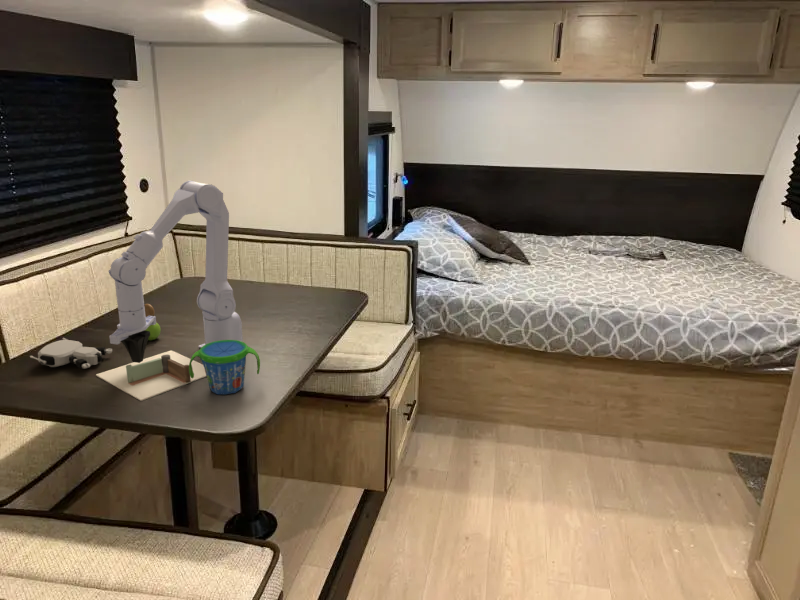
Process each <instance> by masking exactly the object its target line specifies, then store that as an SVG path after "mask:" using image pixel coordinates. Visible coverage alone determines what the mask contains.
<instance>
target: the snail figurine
mask: <svg viewBox="0 0 800 600" xmlns="http://www.w3.org/2000/svg"><path fill="white" fill-rule="evenodd" d="M144 307H145V316H146V317H147V316H155V313H156V312H155V309H154V307H153V306H152V305H151V304H150V303H144ZM145 331H149V332H150V336H149V338H148V341H154V340H156V339H157V338H159V336H160V334H161V331H162V330H161V326H160V324H159V323H158V322H157V321H156V324H155V325H150V326H149V327H148V328H147V329H146V330H145Z"/></svg>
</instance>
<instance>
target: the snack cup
mask: <svg viewBox="0 0 800 600" xmlns="http://www.w3.org/2000/svg"><path fill="white" fill-rule="evenodd" d="M248 354H251V355H254V357H255V358H256V365H257V367H256V368H257V370H256V373H257V375H259V373H260V369H261V359H260V356H259V354H258V352H256V350H255V349H254V348H252V347H250V346H248V344H247V343H245V342H244V341H243V342H241V341H237V340H220V341H215V342H211V343H208V344H206V345H204V346H203V347H201V348H200V349H198V350H197V351H195V352H194V353H193V354H192V356H191V358H190V359H191V360H190V363H189V373H190V376H191V378H194V373H193V369H192V365H191V363H192V361H193V360H194V359H195V358H196V357H199V358H200V362H201V364H203V366H204V369H205V373H206V376H207V377H206V381H207V384H208V387H209V389H210V391H211V392H212V393H214V394H216V395H219V396H220V395H221V396H222V395H224V396H225V395H230V394H235V393H237V392H239V391H240V390H241V389H242V388H243V387H244V383H245V373H246V372H245V371H246V363H247V355H248Z"/></svg>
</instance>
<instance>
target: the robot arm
mask: <svg viewBox="0 0 800 600" xmlns="http://www.w3.org/2000/svg"><path fill="white" fill-rule="evenodd" d="M227 207H228V206H227V205H226V203H225V200H224V192H222V190H220V189H219V188H217V186H215V185H213V184H210V183H204V182H197V181H194V180H186V181H184V182H183V183H182V184H181V185H180V187H179V188H178V189H177V190H175V192H174V194H173V197H172V198H171V201H170V202H169V203H168V205H167V207H166V208H165V209H164V210H163V212H162V214H160V216H159V218H158V219H157V220H156V222H155V223H154V224H153V225H152V227H151V228H150V229H149V230H146V231H145V230H144V231H141V232H140V234H139V233H137V234H135V236H134V237H133V239H134V241H133V242H132V243H131V244H130V245H129V247H128V248H127V250H126V251H123V252H122V253H121V254H120V255H121V256H120V257H119V258H116V259H114V260H113V261H112V262H111V264H110V268H109V270H108V275H110V277H111V278H112V279H113V280H114V285H115V296H116V303H117V310H118V318H119V323H118V324H117V325H116V327H117V329H116V330H115V331H114V332H113V333H112V334H110V335H109V344H112V345H120V344H121V343H122V344H123V346H124V347H125V349H126V350H127V352H128V354H129V356H130V359H131V363H133V362H137V363H140V362H142V361H143V359H145V358H144V356H145V351H146V346H147V343H148V341H149V340H148V338H149V336H150V332H149V331H145V330H146V329H147V328H148V327H149V326H150V325H155V324H156V322H157V316H155V315H154V316H147V317H146V316H145V307H144V305H145V301H144V291H143V283H142V281H143V280H145V277H146V274H147V271H146V270H147V268H148V267H149V265H150V264H151V263H152V261H153V260H154V259H155V258H156V256H157V255H158V254H159V253H160V252H161V250H162V249H163V247H164V244H163V240H164V238H165V237H166V236H168V234H169V233H170V232H171V230H173V229H174V228H175V227H176V225H178V223H179V222H180V221H181V220H182V219H183V218H184V217H185V216H187V215H193V214H200V215H201V216H202V217H204V219H205V220H206V224H205V225H206V227H205V230H206V231H205V232H206V234H205V235H206V236H205V237H206V238H205V240H206V241H205V277H204V278H205V279H204V280H203V281H202V283H200V288H199V293H198V295H197V297H196V304H197V307H198V308H199V309H200V310H201V311H202V321H203V333H204V343H202V344H199V345H198V348H200V349H201V347H203V346H204V345H206V344H208V343H211V342H215V341H220V340H237V341H241V342H244V340H243V339H244V338H243V323H242V319H241V317H240V315H239V313H237V312H236V307H237V305H236V300H235V297H234V290H233V288H232V286H231V285H230V283H229V282H228V264H229V263H228V262H229V261H228V260H229V259H228V258H229V235H230V234H229V227H230V226H229V224H230V222H229V221H230V213H229V210H228V208H227Z"/></svg>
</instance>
